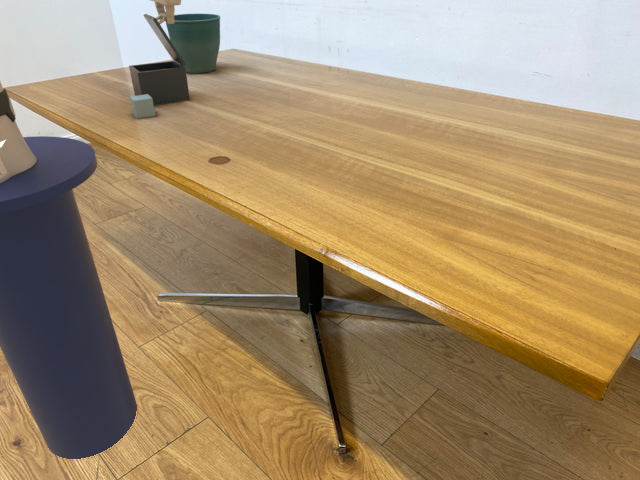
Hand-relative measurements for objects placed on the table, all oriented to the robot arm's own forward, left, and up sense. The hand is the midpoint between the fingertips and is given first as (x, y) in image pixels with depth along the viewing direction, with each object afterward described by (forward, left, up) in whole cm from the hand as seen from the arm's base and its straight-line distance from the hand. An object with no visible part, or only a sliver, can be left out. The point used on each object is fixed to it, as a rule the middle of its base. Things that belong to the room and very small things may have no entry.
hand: (166, 22), depth 128 cm
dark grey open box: (-5, 0, -20) cm, 20 cm away
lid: (-2, 0, -4) cm, 5 cm away
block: (-13, -13, -20) cm, 27 cm away
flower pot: (+16, +31, -20) cm, 40 cm away
